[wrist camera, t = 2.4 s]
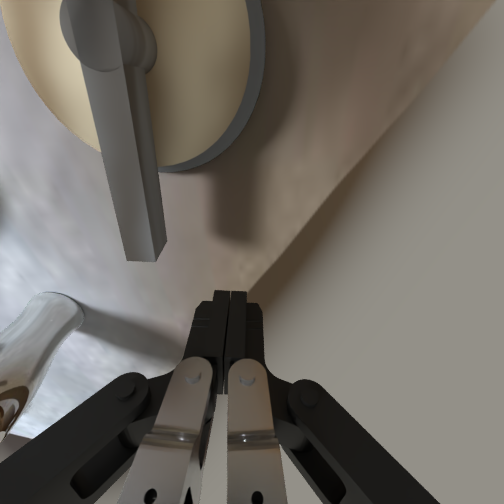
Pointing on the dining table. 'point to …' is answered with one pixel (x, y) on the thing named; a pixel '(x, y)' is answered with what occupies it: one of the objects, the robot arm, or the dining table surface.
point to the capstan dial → (136, 88)
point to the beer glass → (32, 351)
